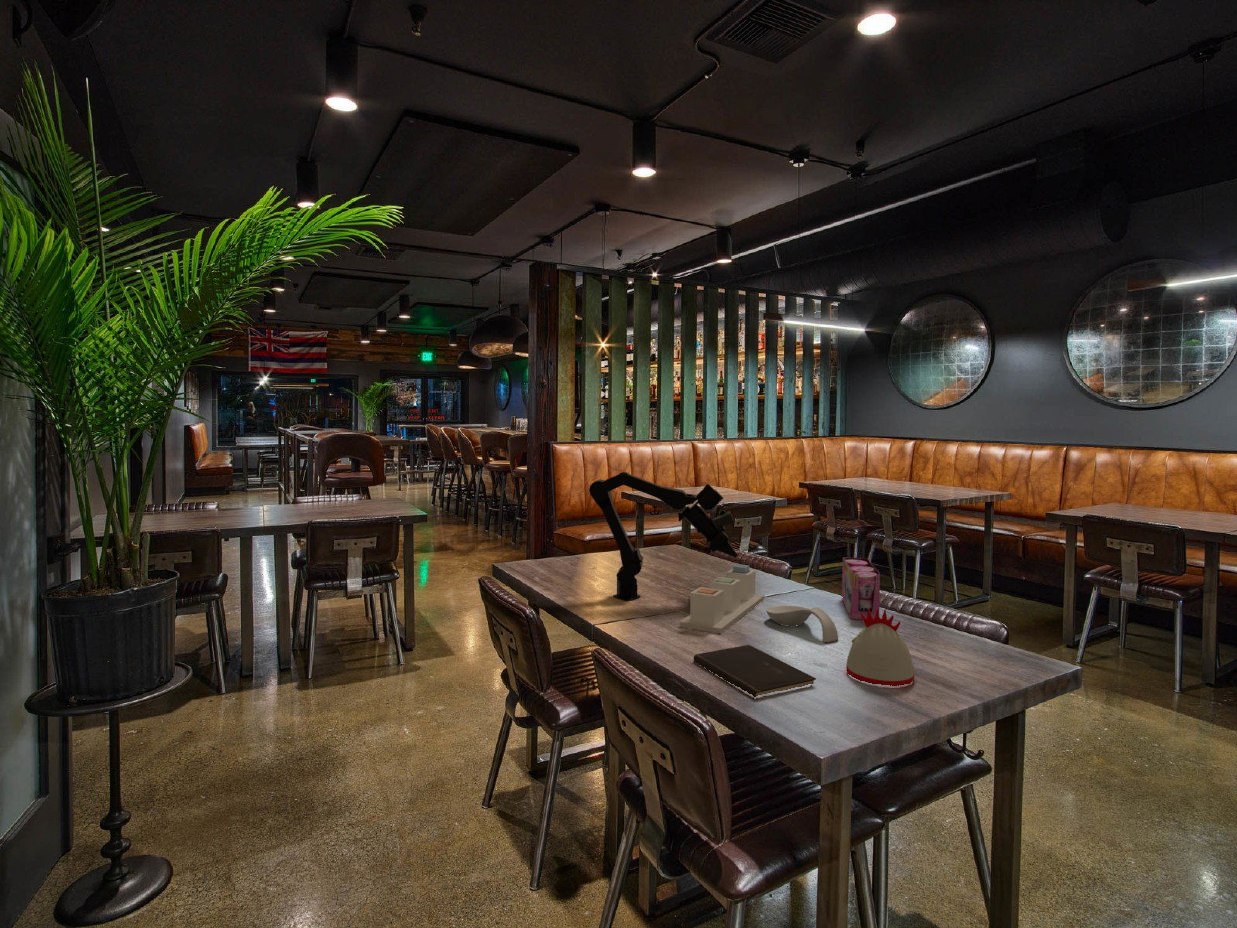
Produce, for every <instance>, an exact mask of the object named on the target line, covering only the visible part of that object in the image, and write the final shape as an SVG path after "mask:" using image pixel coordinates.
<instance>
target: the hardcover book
mask: <svg viewBox="0 0 1237 928" xmlns="http://www.w3.org/2000/svg"><path fill="white" fill-rule="evenodd" d="M694 662H696V663H698V664H699V665H701V666H702V667H705V668H706V669H707V670H710V671H711V672H713V673H714V674H717V675H718V676H719V677H722V678H723V679H724V680H726V681H728V682H730V683H731V684H734V685H735V686H737V687H740V688H741V689H742V690H744V691H747V692H748V693H749V694H752V695H753V696H754V697H756V696H758V695H762V694H767V693H771V692H775V691H783V690H788V689H791V688H795V687H802V686H805V685H808V684H814V683H815V681H816V680H817V678H816V677H814V676H813V675H810V674H809V673H806V672H804V671H802V670H800V669H798V668H796V667H795V666H792V665H790V664H788V663H786V662H784V661H782V660H780V659H778V658H776V657H774V656H772V655H771V654H768V653H766V652H765V651H763V650H760V649H759V648H756V647H754V646H752V645H750V644H745V645H740V646H735V647H728V648H723V649H717V650H714V651H713V650H712V651H708V652H702V653H697V654H695V655H694V656H693V663H694ZM696 663H695V664H696ZM698 664H697V665H698ZM699 665H698V666H699ZM701 666H700V667H701ZM702 667H701V668H702ZM706 669H705V670H706ZM707 670H706V671H707ZM714 674H713V675H714ZM719 677H718V678H719Z"/></svg>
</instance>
